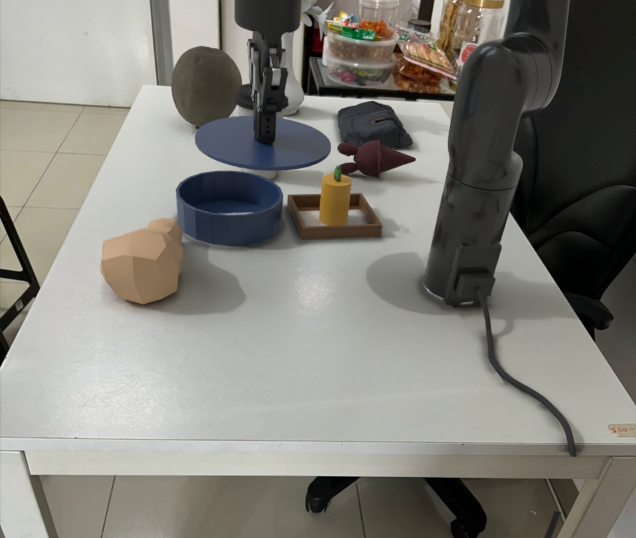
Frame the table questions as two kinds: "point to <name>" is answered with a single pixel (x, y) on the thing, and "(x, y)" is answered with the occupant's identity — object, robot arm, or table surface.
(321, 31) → the flower vase
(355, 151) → the icecream
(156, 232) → the squash
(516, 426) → the table surface
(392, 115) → the dark slate chunk
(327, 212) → the pineapple
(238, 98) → the coffee cup
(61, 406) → the table surface
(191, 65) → the cantaloupe
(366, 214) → the tray
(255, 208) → the pot
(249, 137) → the lid
